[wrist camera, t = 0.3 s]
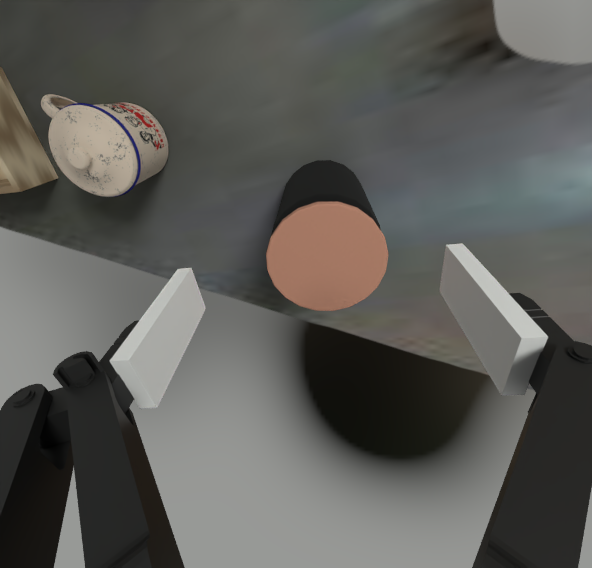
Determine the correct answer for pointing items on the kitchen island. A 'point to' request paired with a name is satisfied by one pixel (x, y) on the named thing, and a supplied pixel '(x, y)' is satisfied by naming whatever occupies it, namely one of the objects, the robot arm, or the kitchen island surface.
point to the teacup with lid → (105, 144)
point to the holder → (19, 146)
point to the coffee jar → (326, 240)
